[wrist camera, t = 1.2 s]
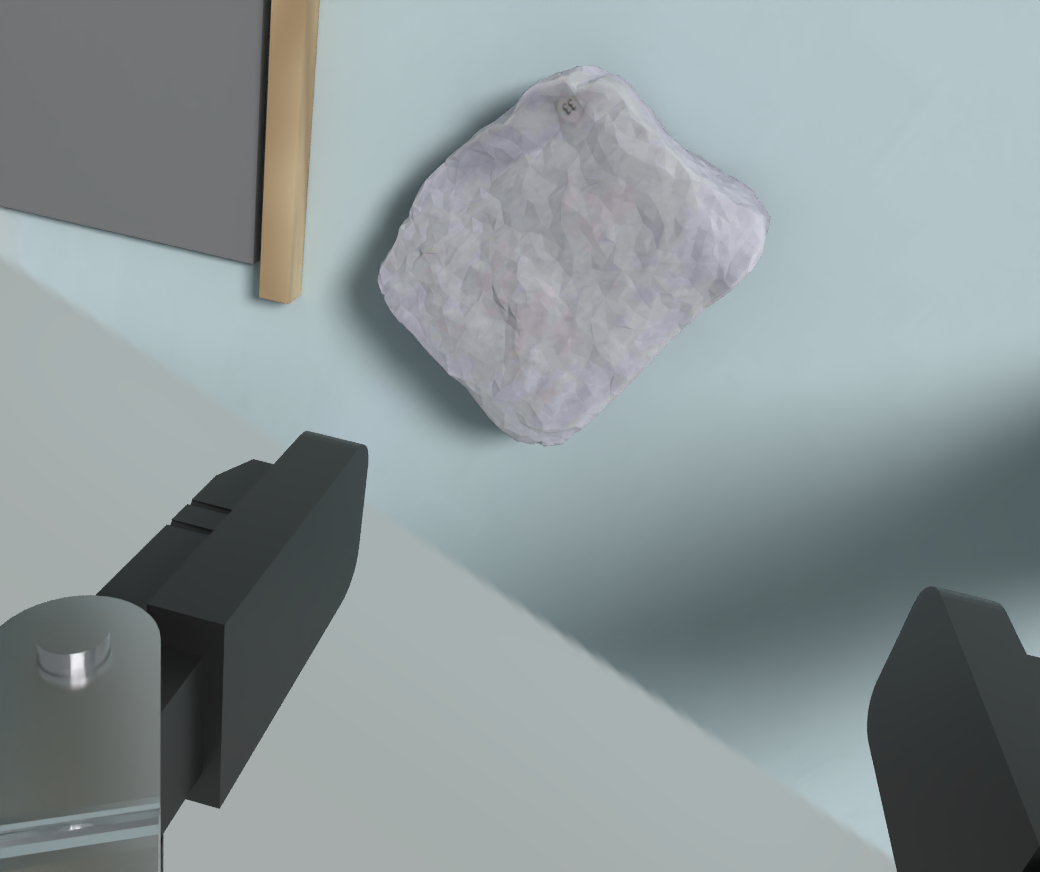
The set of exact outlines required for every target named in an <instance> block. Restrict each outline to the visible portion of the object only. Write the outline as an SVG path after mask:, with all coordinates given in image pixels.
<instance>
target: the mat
mask: <svg viewBox="0 0 1040 872" xmlns="http://www.w3.org/2000/svg"><path fill="white" fill-rule="evenodd" d="M268 21H269V0H0V206H3V207H7V208H12V209H16V210H20V211H25V212H29V213H33V214H38V215H42V216H46V217H51V218H55V219H59V220H64V221H68V222H72V223H77V224H81V225H85V226H89V227H94V228H98V229H102V230H107V231H111V232H115V233H120V234H124V235H128V236H133V237H137V238H141V239H146V240H150V241H154V242H159V243H163V244H167V245H172V246H176V247H180V248H185V249H189V250H193V251H198V252H202V253H206V254H211V255H215V256H219V257H224V258H228V259H232V260H237V261H241V262H245V263H250V264H254V263H256V262H258V261H259V241H260V217H261V192H262V168H263V144H264V119H265V95H266V70H267V46H268Z"/></svg>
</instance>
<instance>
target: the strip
mask: <svg viewBox="0 0 1040 872" xmlns="http://www.w3.org/2000/svg"><path fill="white" fill-rule="evenodd" d="M319 3H320V0H271V24H270V48H269V72H268V96H267V120H266V143H265V167H264V191H263V215H262V239H261V263H260V286H259V297H260V298H264V299H268V300H273V301H277V302H281V303H285V304H290V303H291V302H292V301H293V300H295V299H296V298H297V297H299V296H300V295H301V282H302V266H303V251H304V235H305V220H306V204H307V189H308V173H309V158H310V142H311V127H312V111H313V96H314V80H315V65H316V49H317V34H318V18H319Z"/></svg>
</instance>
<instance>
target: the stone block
mask: <svg viewBox="0 0 1040 872" xmlns="http://www.w3.org/2000/svg"><path fill="white" fill-rule="evenodd" d="M769 222H770V216H769V214H768V212H767V211H766V209H765V208H764V206H763V205H762V203H761V202H760V201H759V200H758V198H757V197H756V195H755V193H754V191H753V190H752V189H750V188H749V187H747V186H746V185H745V184H743V183H742V182H740V181H739V180H737V179H735V178H734V177H731V176H729V175H726V174H725V173H724V172H722V171H721V170H720V169H718V168H716V167H715V166H713V165H711V164H710V163H708V162H707V161H705V160H704V159H703V158H701V157H699V156H697V155H695V154H693V153H691V152H689V151H687V150H685V149H683V148H682V147H681V146H680V145H679V144H678V143H677V142H676V141H675V140H674V139H672V138H671V137H670V136H669V135H668V134H667V133H666V131H665V130H664V129H663V127H662V126H661V124H660V123H659V121H658V119H657V118H656V116H655V115H654V113H653V111H652V110H651V109H650V108H649V107H648V106H647V105H646V104H645V103H644V102H643V101H642V100H641V99H640V98H639V97H638V95H637V94H636V92H635V91H634V89H633V87H632V86H631V85H630V84H629V83H628V82H627V81H626V80H625V79H623V78H622V77H620V76H619V75H613V74H610V73H608V72H606V71H604V70H602V69H600V68H598V67H594V66H577V67H575V68H573V69H570V70H566V71H563V72H559V73H555V74H553V75H551V76H549V77H547V78H545V79H543V80H541V81H538V82H536V83H535V84H534V85H532V86H531V87H530V88H529V89H528V90H527V91H526V92H525V93H523V94H522V95H521V96H520V98H519V100H518V101H517V103H516V104H515V105H514V106H513V107H511V108H510V109H509V110H508V111H506V112H505V113H504V114H503V115H501V116H500V117H499V118H498V119H497V120H495V121H494V122H492V123H491V124H489V125H487V126H485V127H483V128H482V129H480V130H479V131H477V132H476V133H475V134H474V135H473V136H472V137H471V138H470V139H469V140H468V141H467V142H466V143H465V144H464V145H462V146H461V147H459V148H458V149H457V150H456V151H455V152H454V153H452V154H451V155H450V156H449V157H448V158H447V159H446V161H445V162H444V163H443V164H442V165H440V166H439V167H438V168H437V169H436V170H435V171H434V172H433V173H432V174H431V175H430V176H429V177H428V178H427V179H426V180H425V182H424V183H423V184H422V185H421V187H420V189H419V191H418V193H417V195H416V198H415V200H414V202H413V205H412V207H411V209H410V211H409V217H408V218H407V219H406V220H404V222H403V223H402V225H401V226H400V227H399V231H398V236H397V239H396V241H395V243H394V245H393V247H392V248H391V250H390V251H389V252H388V254H387V256H386V258H385V259H384V261H383V262H382V263H381V264H380V266H379V268H380V271H379V274H378V284H379V287H380V290H381V293H382V294H383V297H384V300H385V302H386V304H387V305H388V308H389V310H390V312H391V313H392V314H393V315H394V316H395V317H396V319H397V320H398V321H399V322H400V323H401V324H402V325H403V326H404V327H406V329H407V330H408V331H410V332H411V333H412V335H413V336H414V337H415V338H416V339H417V340H418V341H419V343H420V344H421V345H422V346H423V348H424V349H425V350H426V351H427V352H428V353H429V354H430V355H431V356H432V357H433V359H434V360H435V361H436V362H437V363H438V364H439V365H440V366H441V367H443V368H444V369H445V370H446V372H447V373H448V374H449V375H450V376H452V377H453V378H455V379H456V380H457V381H459V382H460V383H461V384H462V385H463V386H464V387H466V388H467V390H468V391H469V393H470V394H471V395H472V397H473V398H474V399H475V401H476V402H477V403H478V404H479V406H480V407H481V408H482V409H483V411H484V412H485V413H486V415H487V416H488V417H489V419H490V420H491V421H492V422H493V423H494V424H495V425H496V426H497V427H499V428H500V429H501V430H502V431H503V432H505V433H506V434H508V435H509V436H511V437H512V438H513V439H515V440H516V441H518V442H524V443H528V444H534V443H538V444H541V445H543V446H551V445H560V444H563V443H564V442H565V441H566V440H568V439H569V438H570V437H571V436H572V435H574V434H575V433H576V432H578V431H579V430H580V429H581V428H583V427H584V426H585V425H586V424H588V423H589V422H590V421H591V420H592V419H593V418H594V417H596V415H597V414H598V413H599V412H600V411H601V410H602V409H603V408H604V407H605V406H606V405H607V404H608V403H609V402H610V401H611V400H613V399H614V398H615V397H616V396H617V395H618V394H619V393H620V392H621V391H622V390H624V389H625V388H626V387H627V386H628V385H629V384H630V383H631V382H632V381H633V380H634V379H635V377H636V376H637V375H638V374H639V373H640V372H641V371H642V370H643V369H644V368H645V367H646V366H647V365H648V364H649V363H650V361H651V360H652V359H653V358H654V357H655V356H656V355H657V354H658V353H659V352H660V351H661V350H662V348H663V347H664V346H665V345H666V344H667V343H669V342H670V341H671V340H672V339H673V338H674V337H675V336H676V335H677V334H678V333H679V332H680V331H681V330H682V329H683V328H684V327H685V326H687V325H688V324H689V323H691V322H692V321H693V320H694V319H696V318H697V317H698V316H699V315H700V314H701V312H702V311H703V310H704V309H705V308H707V307H708V306H710V305H711V304H713V303H714V302H716V301H717V300H718V299H720V298H721V297H723V296H724V295H726V294H727V293H729V292H730V291H731V290H732V289H733V288H734V287H735V286H736V285H737V284H738V283H739V282H740V281H741V280H743V279H744V278H745V277H746V276H747V275H748V274H749V273H750V272H751V271H752V269H753V268H754V266H755V265H756V263H757V262H758V260H759V258H760V257H761V255H762V252H763V248H764V242H765V236H766V234H767V232H768V227H769Z"/></svg>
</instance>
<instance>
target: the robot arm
mask: <svg viewBox="0 0 1040 872" xmlns="http://www.w3.org/2000/svg"><path fill="white" fill-rule="evenodd" d="M367 469H368V450H367V447H366V446H365V445H363V444H359V443H355V442H351V441H347V440H343V439H339V438H334V437H330V436H326V435H322V434H318V433H314V432H310V431H305V432H303V433H302V434H301V435H300V436H299V437H298V438H297V439H296V440H295V442H294V443H293V444H292V445H291V446H290V447H289V448H288V449H287V450H286V451H285V453H284V454H283V455H282V456H281V457H280V458H279V459H278V460H277V461H276V462H275V464H270V463H266V462H262V461H258V460H254V459H253V460H251V461H248V462H246V463H244V464H241V465H239V466H237V467H235V468H232V469H230V470H228V471H225V472H223V473H221V474H219V475H216V476H215V478H213V479H212V480H211V481H210V482H209V483H208V484H207V485H206V486H205V487H204V488H203V489H202V490H201V491H200V492H199V493H198V494H197V495H196V496H195V497H194V498H193V499H192V503H191V505H188V504H187V505H186V506H185V507H184V508H183V509H182V510H181V511H180V512H179V513H178V514H177V515H176V516H175V517H174V518H173V519H172V522H171V525H166V526H165V527H164V528H163V529H162V530H161V531H160V532H159V533H158V534H157V535H156V536H155V537H154V538H153V539H152V540H151V541H150V542H149V543H148V544H147V545H146V546H145V547H144V548H143V549H142V550H141V551H140V552H139V553H138V554H137V555H136V556H135V557H134V558H133V559H132V560H131V561H130V562H129V563H128V564H127V565H126V566H124V567H123V568H122V570H120V571H119V572H118V573H117V574H116V575H115V577H113V578H112V579H111V580H110V581H109V582H108V583H107V584H106V585H105V586H104V587H103V588H102V589H101V590H100V591H99V592H98V593H97V594H96V595H86V596H72V597H64V598H60V599H55V600H50V601H47V602H44V603H41V604H38V605H35V606H33V607H31V608H28V609H26V610H24V611H22V612H20V613H19V614H17V615H15V616H13V617H12V618H10V619H9V620H7V621H6V622H5V623H4V624H2V625H1V626H0V872H163V871H164V842H163V840H164V837H163V833H164V831H165V830H166V828H167V827H168V825H169V824H170V822H171V820H172V819H173V817H174V816H175V814H176V813H177V811H178V810H179V808H180V806H181V805H182V803H183V802H184V800H185V799H187V800H191V801H195V802H198V803H202V804H205V805H208V806H212V807H216V808H220V807H221V805H222V804H223V802H224V800H225V799H226V797H227V795H228V794H229V792H230V790H231V788H232V787H233V785H234V783H235V782H236V780H237V778H238V777H239V775H240V773H241V772H242V770H243V768H244V767H245V765H246V763H247V762H248V760H249V758H250V756H251V755H252V753H253V751H254V750H255V748H256V746H257V745H258V743H259V741H260V740H261V738H262V736H263V734H264V733H265V731H266V730H267V728H268V726H269V724H270V723H271V721H272V719H273V718H274V716H275V714H276V713H277V711H278V709H279V708H280V706H281V704H282V703H283V701H284V699H285V697H286V696H287V694H288V692H289V691H290V689H291V687H292V686H293V684H294V682H295V681H296V679H297V677H298V675H299V674H300V672H301V670H302V668H303V667H304V665H305V664H306V662H307V660H308V659H309V657H310V655H311V654H312V652H313V650H314V649H315V647H316V645H317V643H318V642H319V640H320V638H321V637H322V635H323V633H324V632H325V630H326V628H327V627H328V625H329V623H330V622H331V620H332V618H333V616H334V615H335V613H336V611H337V610H338V608H339V606H340V605H341V603H342V601H343V599H344V597H345V595H346V593H347V590H348V588H349V586H350V583H351V580H352V577H353V573H354V570H355V566H356V562H357V557H358V550H359V542H360V533H361V524H362V515H363V506H364V497H365V488H366V478H367ZM867 734H868V742H869V747H870V751H871V756H872V760H873V765H874V769H875V774H876V778H877V783H878V787H879V792H880V796H881V801H882V805H883V810H884V815H885V819H886V824H887V828H888V833H889V837H890V842H891V846H892V851H893V855H894V860H895V864H896V869H897V872H1040V658H1038V657H1034V656H1030V655H1027V654H1026V652H1025V650H1024V648H1023V646H1022V644H1021V642H1020V640H1019V638H1018V636H1017V634H1016V632H1015V629H1014V627H1013V625H1012V623H1011V621H1010V619H1009V617H1008V615H1007V613H1006V611H1005V609H1004V608H1003V606H1001V605H1000V604H999V603H997V602H994V601H990V600H986V599H982V598H978V597H974V596H969V595H965V594H961V593H957V592H953V591H949V590H945V589H941V588H937V587H932V586H930V587H927V588H925V589H924V590H923V591H922V592H921V593H920V594H919V596H918V597H917V599H916V601H915V603H914V605H913V607H912V609H911V611H910V613H909V615H908V617H907V619H906V621H905V623H904V626H903V628H902V630H901V632H900V634H899V636H898V638H897V640H896V642H895V645H894V647H893V649H892V651H891V653H890V655H889V657H888V659H887V661H886V663H885V666H884V668H883V670H882V672H881V674H880V676H879V678H878V680H877V682H876V685H875V687H874V690H873V693H872V696H871V700H870V705H869V710H868V719H867Z"/></svg>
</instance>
